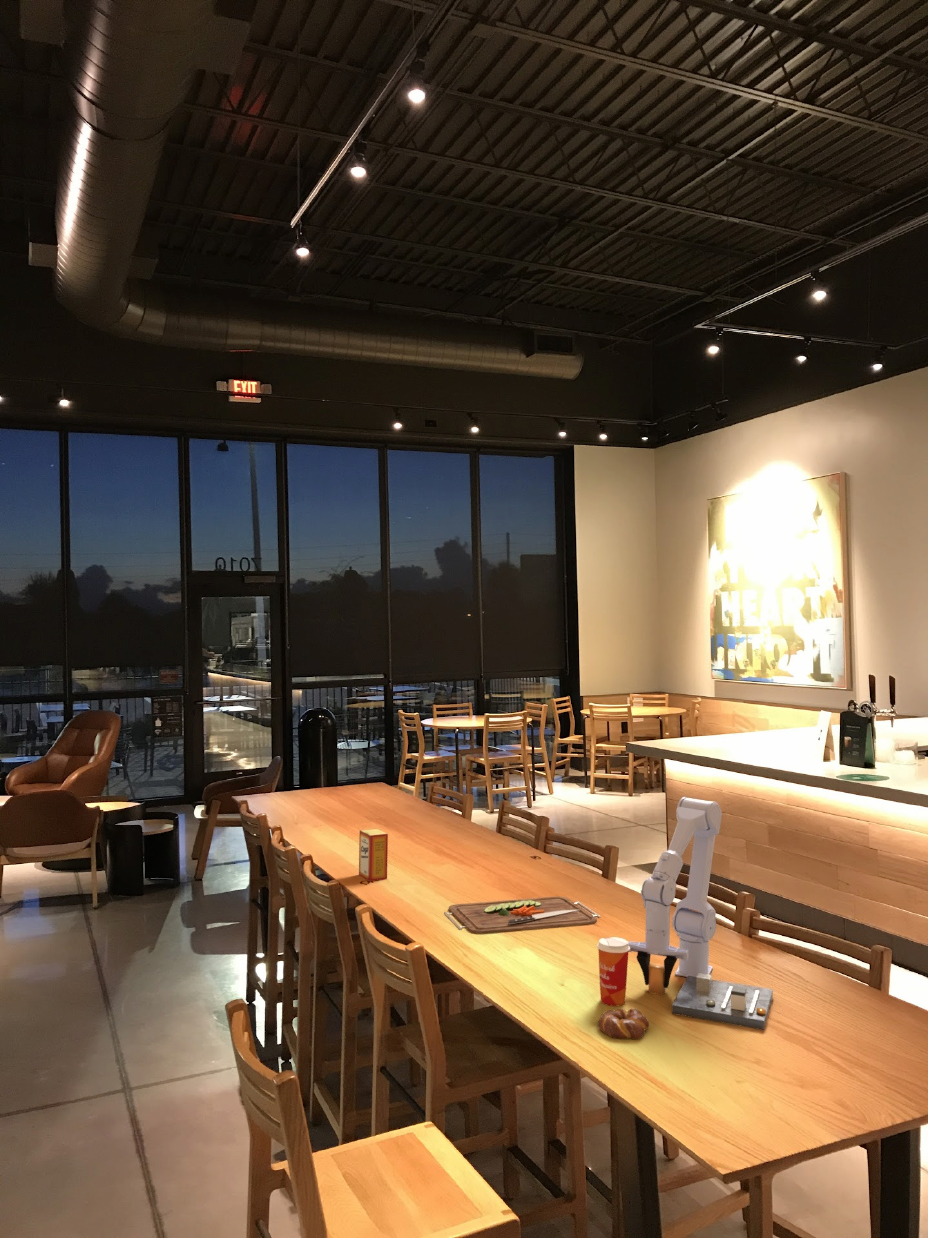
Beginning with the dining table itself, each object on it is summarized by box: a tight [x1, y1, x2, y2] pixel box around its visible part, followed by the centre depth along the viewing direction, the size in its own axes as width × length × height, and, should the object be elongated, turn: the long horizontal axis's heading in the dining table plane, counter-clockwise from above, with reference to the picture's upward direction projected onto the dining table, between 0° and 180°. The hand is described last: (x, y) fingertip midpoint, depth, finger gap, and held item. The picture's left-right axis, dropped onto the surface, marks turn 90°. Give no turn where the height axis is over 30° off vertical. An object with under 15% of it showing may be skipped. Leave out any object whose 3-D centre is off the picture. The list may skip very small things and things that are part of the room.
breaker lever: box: [731, 986, 746, 1011], centre depth 211 cm, size 3×3×4 cm
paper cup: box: [596, 936, 630, 1007], centre depth 219 cm, size 8×8×14 cm
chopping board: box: [443, 896, 601, 935], centre depth 284 cm, size 45×27×3 cm, turn 108°
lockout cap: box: [647, 962, 666, 995], centre depth 225 cm, size 4×4×6 cm
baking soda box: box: [358, 828, 389, 882], centre depth 325 cm, size 10×6×16 cm
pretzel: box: [597, 1008, 650, 1040], centre depth 204 cm, size 12×11×4 cm
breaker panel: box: [671, 973, 774, 1031], centre depth 217 cm, size 20×20×5 cm
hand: (656, 985), depth 225 cm, fingers closed on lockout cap, 4 cm apart
